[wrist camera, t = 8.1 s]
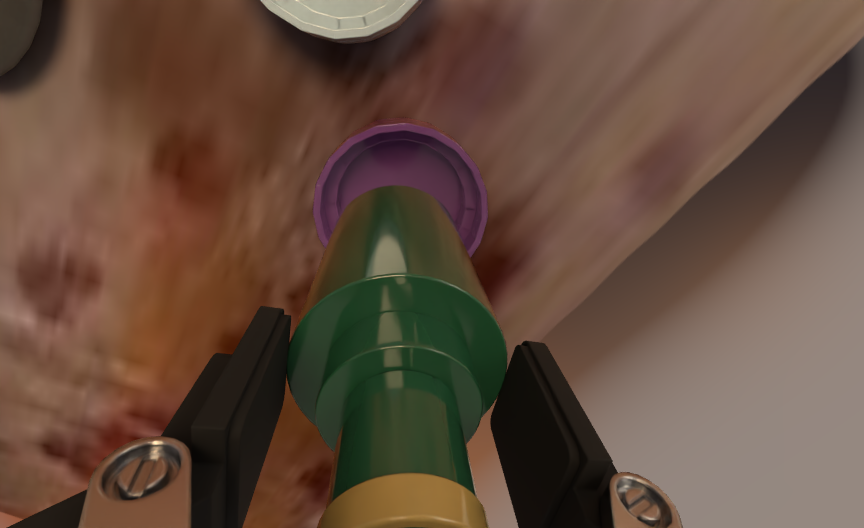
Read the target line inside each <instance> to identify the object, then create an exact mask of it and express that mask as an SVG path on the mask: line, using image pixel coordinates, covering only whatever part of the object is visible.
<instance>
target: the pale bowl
mask: <svg viewBox="0 0 864 528" xmlns="http://www.w3.org/2000/svg"><path fill="white" fill-rule="evenodd" d="M260 1H261V2H262V3H263V4H264V5H265V6H266V8H267V9H268V10H270V11H271V12H272V13H274V14H276V15H277V16H279V17H280V18H282V19H284V20H285V21H287V22H288V23H290V24H292V25H293V26H295V27H296V28H298V29H299V30H301V31H303V32H305V33H307V34H309V35H311V36H314V37H317V38H321V39H325V40H328V41H332V42H336V43H340V44H349V43H360V42H370V41H373V40H375V39H377V38H379V37H381V36H383V35H385V34H387V33H389V32H391V31H394V30H396V29H397V28H398V27H399V26H400V25H401V24H402V23H403V22H404V21H405V20H406V19H407V18H408V17H409V16H410V15H411V14H412V13H413V12H414V11H415V10H416V9H417V8H418V6H419V5H420V3H421V1H422V0H260Z"/></svg>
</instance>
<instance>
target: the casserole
mask: <svg viewBox="0 0 864 528" xmlns="http://www.w3.org/2000/svg"><path fill="white" fill-rule="evenodd" d="M42 3H43V0H0V77H1V76H2V75H4V74H5V73H6V72H8V71H9V70H11V69H12V68H14V67H15V66H16V65H17V64H18V62H19V61H20V60H21V58H22V57H23V56H24V54H25V53H26V52H27V50H28V49H29V48H30V46H31V43H32V41H33V38H34V36H35V33H36V31H37V28H38V26H39V23H40V18H41V10H42Z"/></svg>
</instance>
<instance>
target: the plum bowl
mask: <svg viewBox="0 0 864 528" xmlns="http://www.w3.org/2000/svg"><path fill="white" fill-rule="evenodd" d="M391 185H400V186H408V187H413V188H416V189H419V190H422V191H424V192H426V193H428V194H430V195H431V196H433V197H435V198H436V199H437V200H438V201H439V202H441V203H442V204H443V205H444V206H445V208H446V209H447V210H448V211H449V213H450V214H451V216H452V217H453V219H454V221H455V223H456V226H457V228H458V230H459V233H460V235H461V237H462V240H463V242H464V244H465V247H466V249H467V251H468V254H469V256H470V257H471V256H472V254H473V253H474V251H475V250H476V248H477V247H478V246H479V244H480V242H481V239H482V236H483V233H484V229H485V226H486V222H487V219H488V208H487V190H486V188H485V185H484V182H483V180H482V177H481V174H480V172H479V169H478V167H477V165H476V164H475V163H474V162H473V160H472V159H471V158H470V157H469V156H468V154H467V153H466V152H465V151H464V149H463V148H462V147H461V146H460V145H459V144H458V143H457V142H456V141H455V140H454V139H453V137H451V136H450V135H448V134H447V133H445V132H444V131H442V130H440V129H439V128H437V127H435V126H434V125H432V124H431V123H428V122H423V121H419V120H415V119H410V118H406V117H405V118H404V117H399V118H390V119H380V120H376V121H374V122H372V123H370V124H368V125H366V126H364V127H361V128H359V129H357V130H355V131H354V132H352V133H351V134H350V135H349V136H348V137H347V138H346V139H345V140H344V141H343V142H342V143H341V144H340V145H339V146H338V147H337V148H336V150H335V151H334V152H333V153H332V155H331V156H330V157H329V159H328V160H327V162H326V164H325V166H324V168H323V170H322V172H321V174H320V176H319V178H318V181H317V183H316V186H315V195H314V204H313V215H314V220H315V224H316V228H317V233H318V237H319V239H320V241H321V242H322V244H323V246H324V247H325V249H326V247H327V244H328V242H329V239H330V237H331V234H332V231H333V229H334V226H335V224H336V221H337V219H338V217H339V216H340V214H341V212H342V211H343V210H344V209H345V207H346V206H347V205H348V204H349V203H350V202H351V201H352V200H354V199H355V198H357V197H358V196H359V195H361V194H363V193H365V192H367V191H369V190H372V189H375V188H378V187H383V186H391Z"/></svg>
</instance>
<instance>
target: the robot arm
mask: <svg viewBox="0 0 864 528" xmlns="http://www.w3.org/2000/svg"><path fill="white" fill-rule="evenodd" d="M290 326H291V315H284V310H283V309H280V308H272V307H265V306H261V307H260V308H259V310H258V311H257V313H256V315H255V316H254V318H253V320H252V322H251V323H250V325H249V327H248V329H247V330H246V332H245V334H244V336H243V337H242V339H241V341H240V343H239V344H238V346H237V348H236V349H235V351H234V353H233V355H230V354H221V353H216V354H214V355H213V357H212V358H211V359H210V361H209V362H208V364H207V365H206V367H205V368H204V370H203V371H202V373H201V375H200V376H199V378H198V379H197V381H196V382H195V384H194V385H193V387H192V389H191V390H190V392H189V393H188V395H187V396H186V398H185V399H184V401H183V403H182V404H181V406H180V407H179V409H178V410H177V412H176V413H175V415H174V416H173V418H172V420H171V421H170V423H169V424H168V426H167V427H166V429H165V430H164V432H163V434H162V435H161V436H156V437H146V438H143V439H139V440H136V441H132V442H130V443H128V444H126V445H124V446H122V447H120V448H118V449H116V450H115V451H114V452H112V453H111V454H109V455H108V456H107V457H105V458H104V459H103V461H102V462H101V463H100V464H99V465H98V466H97V467H96V469H95V470H94V472H93V474H92V477H91V479H90V481H89V485H88V489H87V490H85V491H83V492H81V493H78V494H76V495H74V496H72V497H70V498H68V499H66V500H64V501H62V502H60V503H57V504H55V505H53V506H51V507H49V508H47V509H45V510H43V511H41V512H39V513H37V514H34V515H32V516H30V517H28V518H26V519H24V520H22V521H20V522H18V523H16V524H13V525H11V526H10V527H7V528H242V526H243V523H244V520H245V517H246V514H247V511H248V508H249V505H250V502H251V499H252V496H253V493H254V490H255V487H256V484H257V481H258V478H259V475H260V472H261V469H262V466H263V463H264V460H265V457H266V454H267V451H268V448H269V445H270V442H271V439H272V436H273V433H274V430H275V427H276V424H277V421H278V418H279V415H280V412H281V409H282V406H283V401H284V395H285V384H286V367H287V355H288V347H289V338H290ZM491 430H492V433H493V437H494V441H495V444H496V448H497V451H498V455H499V459H500V462H501V466H502V469H503V473H504V476H505V480H506V484H507V487H508V491H509V494H510V498H511V501H512V505H513V508H514V512H515V516H516V519H517V523H518V527H519V528H683V526H682V523H681V519H680V516H679V514H678V511H677V509H676V507H675V505H674V504H673V503H672V501H671V500H670V499H669V497H668V496H667V495H666V494H665V493H664V492H663V491H662V490H661V489H660V488H659V487H658V486H656V485H655V484H653V483H652V482H651V481H649V480H647V479H645V478H643V477H641V476H639V475H637V474H633V473H629V472H620V473H618V472H617V470H616V469H615V467H614V465H613V463H612V459H611V457H610V456H609V454H608V452H607V450H606V449H605V447H604V445H603V443H602V442H601V440H600V438H599V436H598V435H597V433H596V431H595V429H594V428H593V426H592V424H591V422H590V421H589V419H588V417H587V415H586V414H585V412H584V411H583V409H582V407H581V405H580V403H579V402H578V400H577V398H576V396H575V395H574V393H573V391H572V389H571V388H570V386H569V384H568V382H567V381H566V379H565V377H564V375H563V374H562V372H561V370H560V368H559V367H558V365H557V363H556V362H555V360H554V358H553V356H552V355H551V353H550V351H549V349H548V347H547V346H546V345H545V344H544V343H539V342H531V341H524V342H523V343H522V344H521V345H517V346H516V347H515V350H514V352H513V355H512V358H511V361H510V364H509V367H508V369H507V372H506V376H505V379H504V382H503V386H502V388H501V390H500V392H499V395H498V398H497V401H496V404H495V406H494V409H493V412H492V415H491Z"/></svg>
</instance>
